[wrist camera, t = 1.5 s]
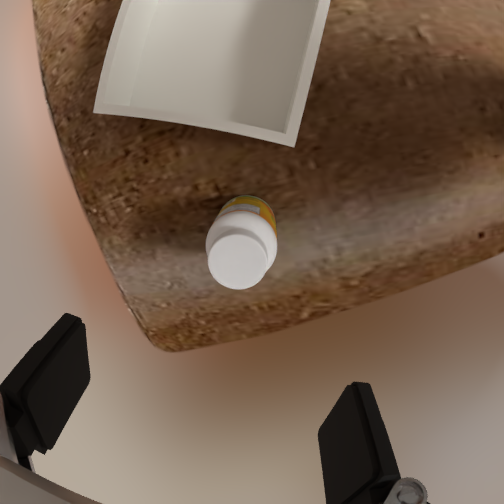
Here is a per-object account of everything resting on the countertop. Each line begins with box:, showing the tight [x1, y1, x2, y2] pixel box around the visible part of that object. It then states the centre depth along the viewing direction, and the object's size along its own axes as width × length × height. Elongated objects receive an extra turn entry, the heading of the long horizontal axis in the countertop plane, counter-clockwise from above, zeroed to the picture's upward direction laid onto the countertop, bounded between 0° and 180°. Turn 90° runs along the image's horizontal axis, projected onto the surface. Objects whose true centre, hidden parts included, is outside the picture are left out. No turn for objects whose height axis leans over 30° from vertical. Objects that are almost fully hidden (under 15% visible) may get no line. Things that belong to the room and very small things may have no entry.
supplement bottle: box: [206, 195, 277, 289], centre depth 25 cm, size 5×5×10 cm
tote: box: [93, 0, 330, 147], centre depth 20 cm, size 16×20×6 cm
